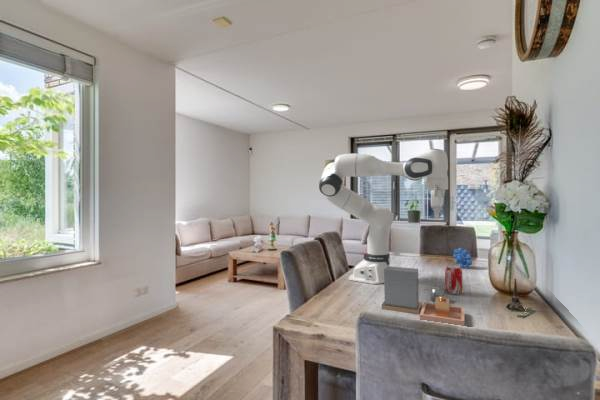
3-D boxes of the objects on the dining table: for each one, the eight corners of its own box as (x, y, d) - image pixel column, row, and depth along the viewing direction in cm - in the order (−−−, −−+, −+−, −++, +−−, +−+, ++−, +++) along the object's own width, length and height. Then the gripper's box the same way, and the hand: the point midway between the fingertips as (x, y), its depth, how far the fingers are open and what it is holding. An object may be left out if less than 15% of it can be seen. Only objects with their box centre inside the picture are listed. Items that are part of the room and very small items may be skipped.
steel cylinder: (430, 301, 130) (430, 289, 130) (431, 298, 135) (431, 286, 135) (443, 303, 128) (443, 291, 128) (444, 299, 132) (444, 287, 132)
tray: (419, 321, 110) (419, 314, 110) (424, 308, 122) (424, 302, 122) (464, 328, 104) (464, 321, 103) (464, 314, 116) (464, 307, 116)
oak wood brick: (435, 317, 112) (435, 297, 112) (436, 313, 116) (436, 294, 116) (449, 319, 110) (449, 299, 110) (449, 314, 114) (449, 295, 114)
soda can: (441, 291, 143) (441, 265, 143) (453, 289, 145) (452, 264, 145) (455, 296, 136) (454, 268, 136) (466, 293, 139) (466, 267, 139)
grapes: (449, 267, 190) (448, 247, 190) (456, 265, 193) (455, 246, 193) (467, 270, 180) (467, 250, 180) (474, 269, 183) (474, 248, 183)
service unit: (381, 308, 123) (380, 269, 123) (387, 300, 132) (386, 264, 132) (419, 314, 117) (418, 273, 116) (422, 305, 126) (421, 267, 125)
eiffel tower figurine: (523, 320, 111) (523, 282, 111) (493, 311, 119) (492, 277, 119) (540, 310, 119) (540, 276, 119) (511, 303, 127) (510, 271, 127)
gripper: (443, 185, 126) (444, 219, 126) (446, 186, 144) (446, 215, 145) (426, 185, 129) (427, 218, 129) (431, 186, 147) (431, 215, 147)
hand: (437, 217), depth 137 cm, fingers open, 8 cm apart
